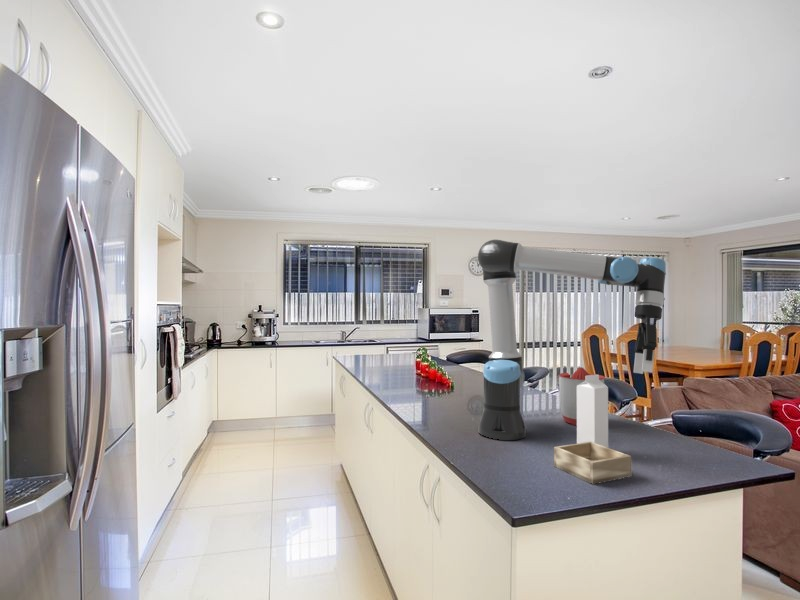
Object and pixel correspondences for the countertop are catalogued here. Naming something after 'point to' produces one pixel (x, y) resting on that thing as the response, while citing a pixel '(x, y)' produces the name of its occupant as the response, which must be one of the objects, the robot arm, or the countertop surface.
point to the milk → (592, 411)
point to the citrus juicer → (571, 393)
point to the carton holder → (592, 462)
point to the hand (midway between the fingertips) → (642, 372)
